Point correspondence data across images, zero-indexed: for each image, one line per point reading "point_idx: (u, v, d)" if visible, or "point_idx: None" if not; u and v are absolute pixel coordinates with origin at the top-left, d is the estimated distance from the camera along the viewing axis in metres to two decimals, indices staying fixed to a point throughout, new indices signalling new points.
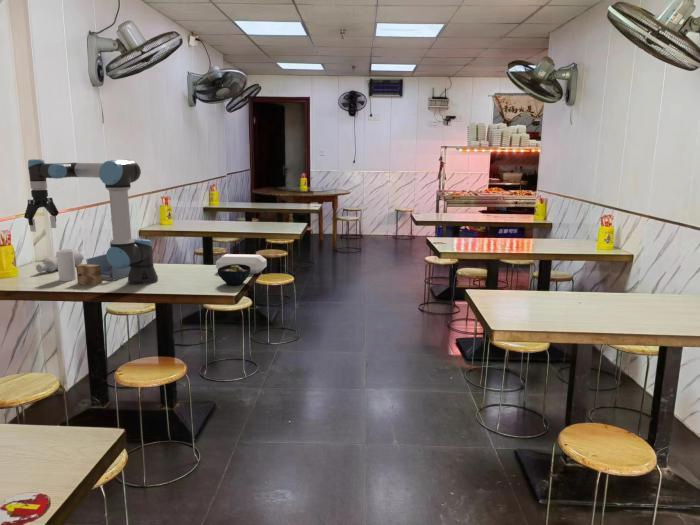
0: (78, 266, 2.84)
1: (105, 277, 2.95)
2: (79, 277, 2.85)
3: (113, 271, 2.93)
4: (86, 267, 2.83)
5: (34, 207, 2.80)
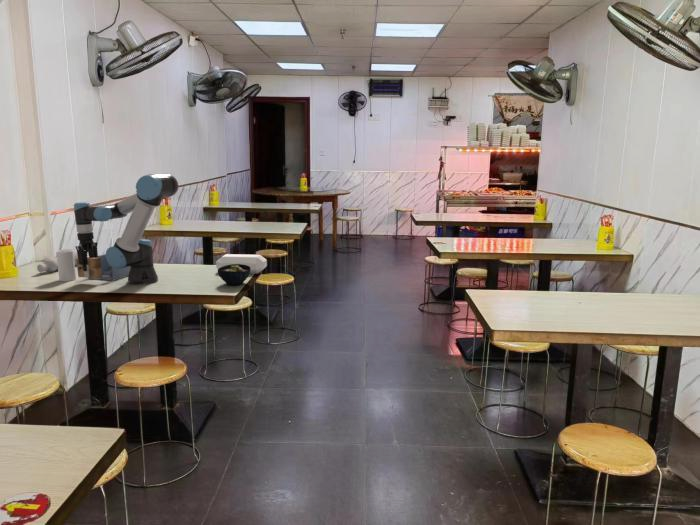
0: None
1: (105, 277, 2.95)
2: (79, 270, 2.84)
3: (113, 271, 2.93)
4: None
5: (83, 252, 2.81)
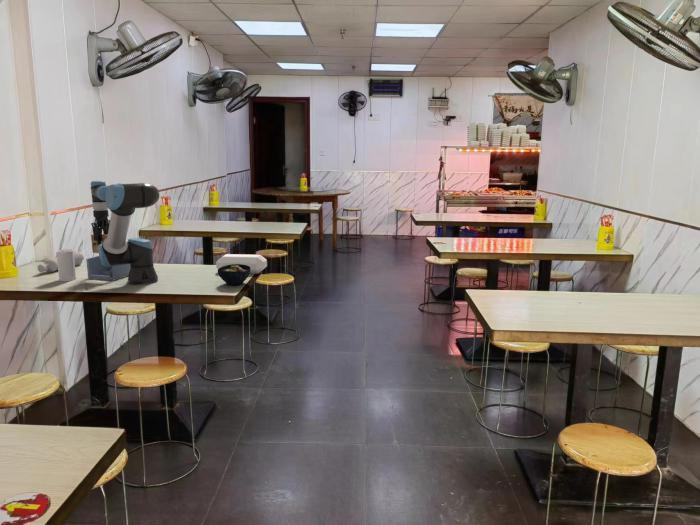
0: None
1: (105, 277, 2.95)
2: (94, 246, 2.96)
3: (113, 271, 2.93)
4: None
5: (98, 228, 2.92)
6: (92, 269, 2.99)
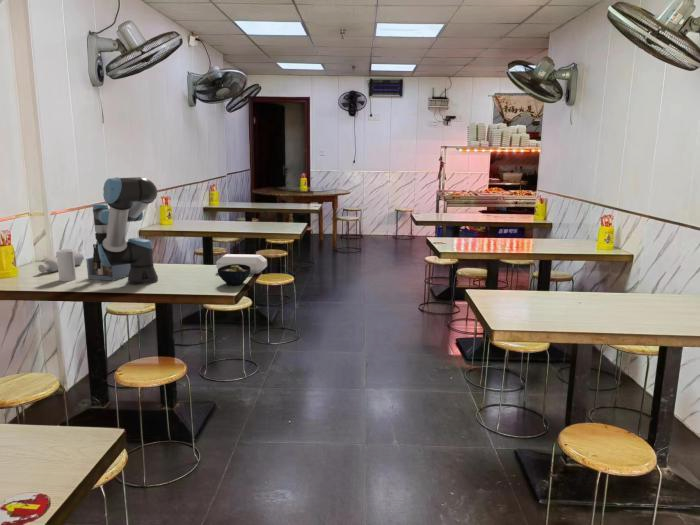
0: None
1: (105, 277, 2.95)
2: (96, 271, 2.99)
3: (113, 271, 2.93)
4: None
5: None
6: (92, 269, 2.99)
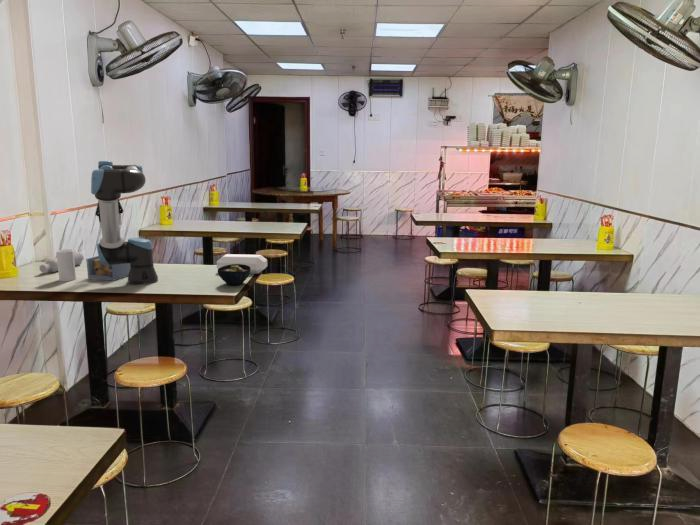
0: (95, 261, 2.98)
1: (105, 277, 2.95)
2: (96, 271, 2.99)
3: (113, 271, 2.93)
4: None
5: None
6: (92, 269, 2.99)
